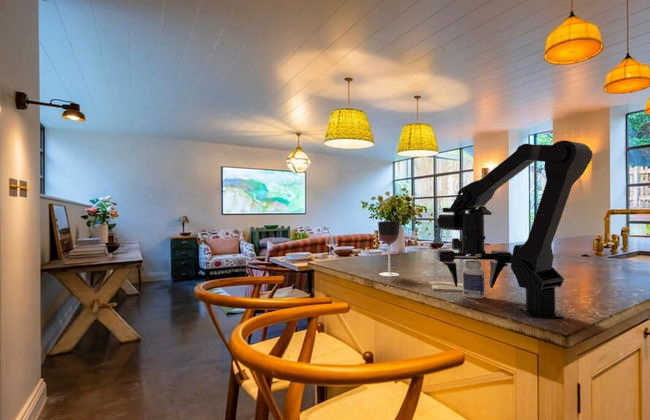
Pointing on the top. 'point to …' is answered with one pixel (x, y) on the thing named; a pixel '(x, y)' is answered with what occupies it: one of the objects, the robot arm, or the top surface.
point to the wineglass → (388, 239)
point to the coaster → (446, 286)
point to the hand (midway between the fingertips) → (473, 287)
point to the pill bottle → (473, 280)
